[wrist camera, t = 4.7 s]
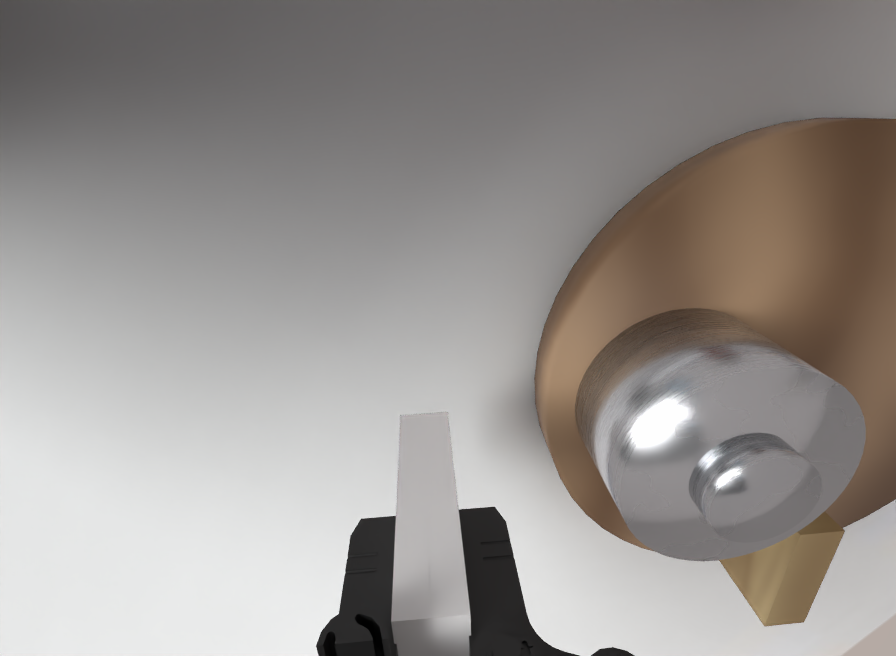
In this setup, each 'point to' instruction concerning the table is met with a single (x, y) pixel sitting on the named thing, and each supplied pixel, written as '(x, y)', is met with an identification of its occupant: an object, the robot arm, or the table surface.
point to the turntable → (750, 308)
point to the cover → (715, 434)
